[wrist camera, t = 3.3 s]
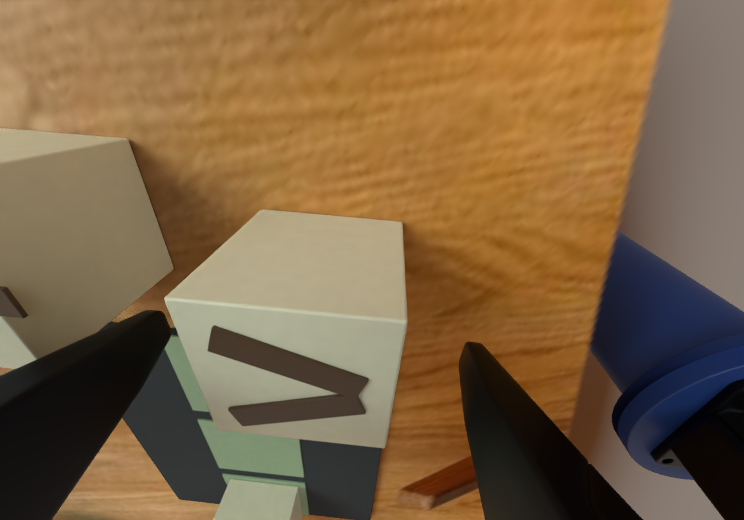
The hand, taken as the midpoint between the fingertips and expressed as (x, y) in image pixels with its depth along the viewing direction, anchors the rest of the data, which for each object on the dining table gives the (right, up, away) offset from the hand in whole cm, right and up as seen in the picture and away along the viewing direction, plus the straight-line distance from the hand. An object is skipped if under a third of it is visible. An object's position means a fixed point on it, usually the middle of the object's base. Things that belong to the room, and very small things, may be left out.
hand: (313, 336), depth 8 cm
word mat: (-6, -10, +10) cm, 15 cm away
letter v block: (0, +2, +3) cm, 3 cm away
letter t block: (-9, +4, +2) cm, 10 cm away
